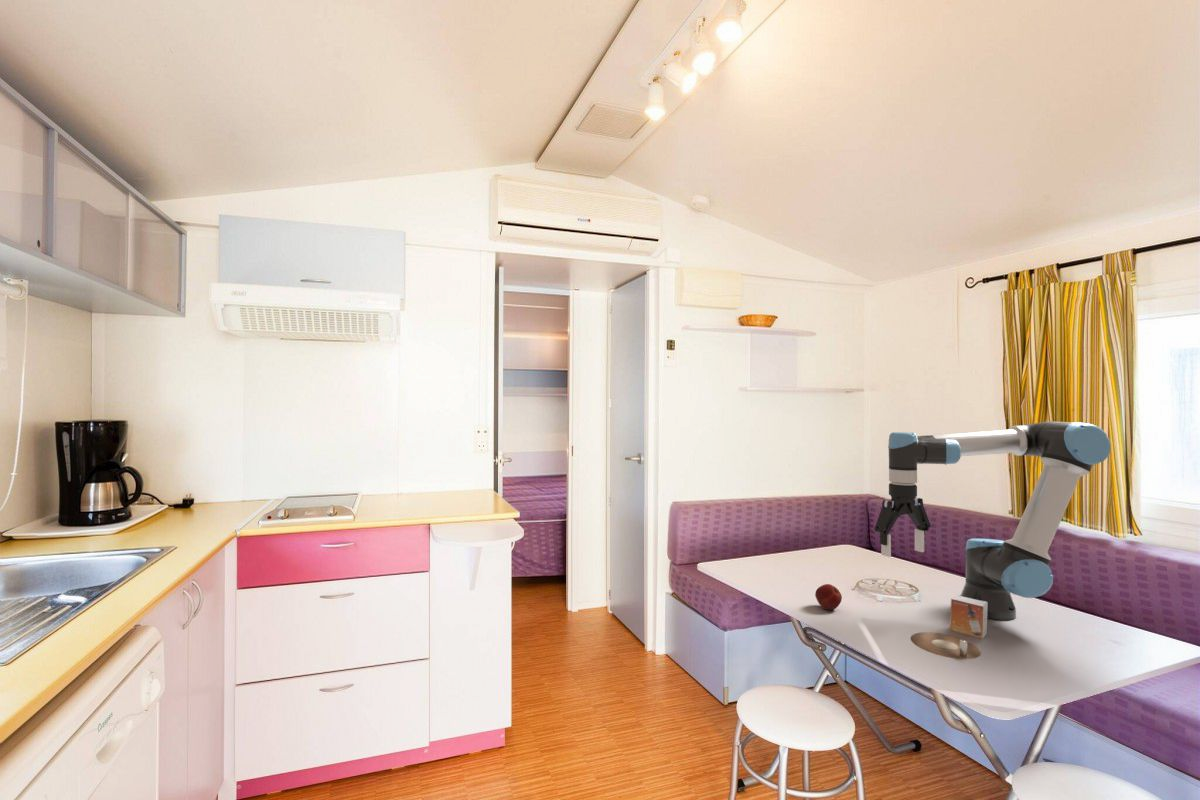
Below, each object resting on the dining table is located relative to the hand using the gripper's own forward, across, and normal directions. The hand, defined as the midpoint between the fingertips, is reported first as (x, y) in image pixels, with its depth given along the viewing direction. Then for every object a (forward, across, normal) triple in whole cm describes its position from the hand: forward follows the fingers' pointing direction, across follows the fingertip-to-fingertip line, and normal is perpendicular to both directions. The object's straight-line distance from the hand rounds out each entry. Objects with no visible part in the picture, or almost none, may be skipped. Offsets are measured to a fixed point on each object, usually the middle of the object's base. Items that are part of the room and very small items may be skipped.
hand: (903, 553), depth 166 cm
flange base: (+21, +5, +17) cm, 28 cm away
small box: (+22, -10, +13) cm, 27 cm away
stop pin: (+20, +7, +24) cm, 31 cm away
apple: (+21, +14, -16) cm, 30 cm away
